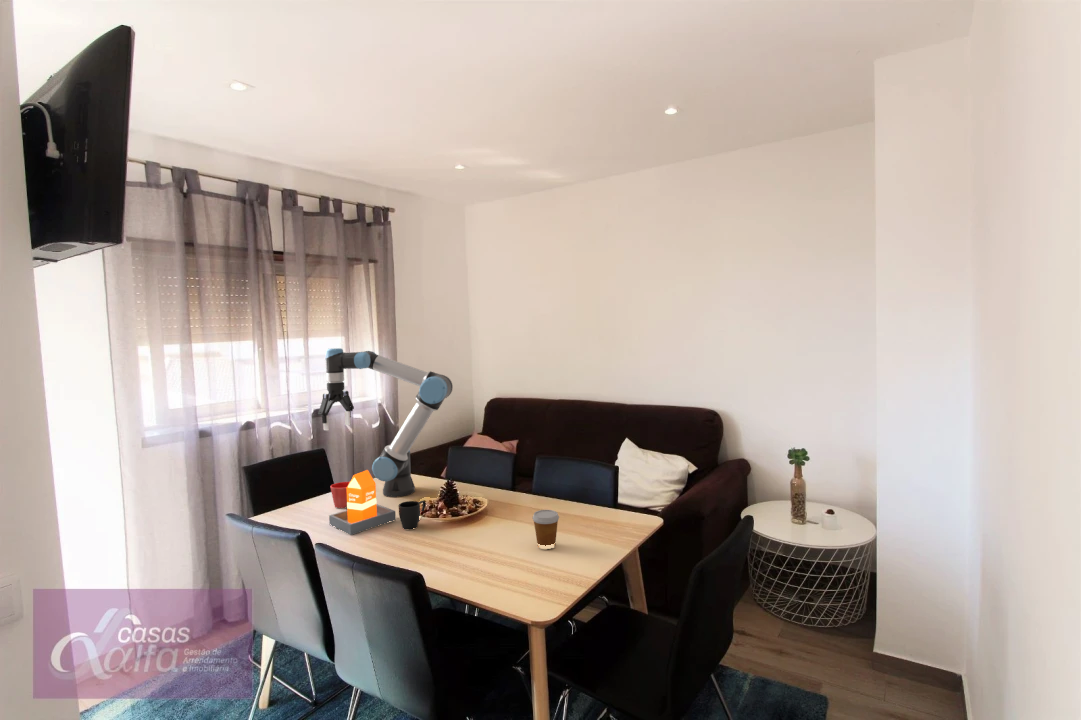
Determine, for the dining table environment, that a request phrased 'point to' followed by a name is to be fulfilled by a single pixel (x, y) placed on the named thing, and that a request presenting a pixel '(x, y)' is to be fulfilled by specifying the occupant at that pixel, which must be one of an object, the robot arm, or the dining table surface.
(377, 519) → the tray
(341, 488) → the flower pot
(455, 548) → the dining table surface
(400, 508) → the mug
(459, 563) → the dining table surface
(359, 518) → the orange juice
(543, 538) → the disposable coffee cup
